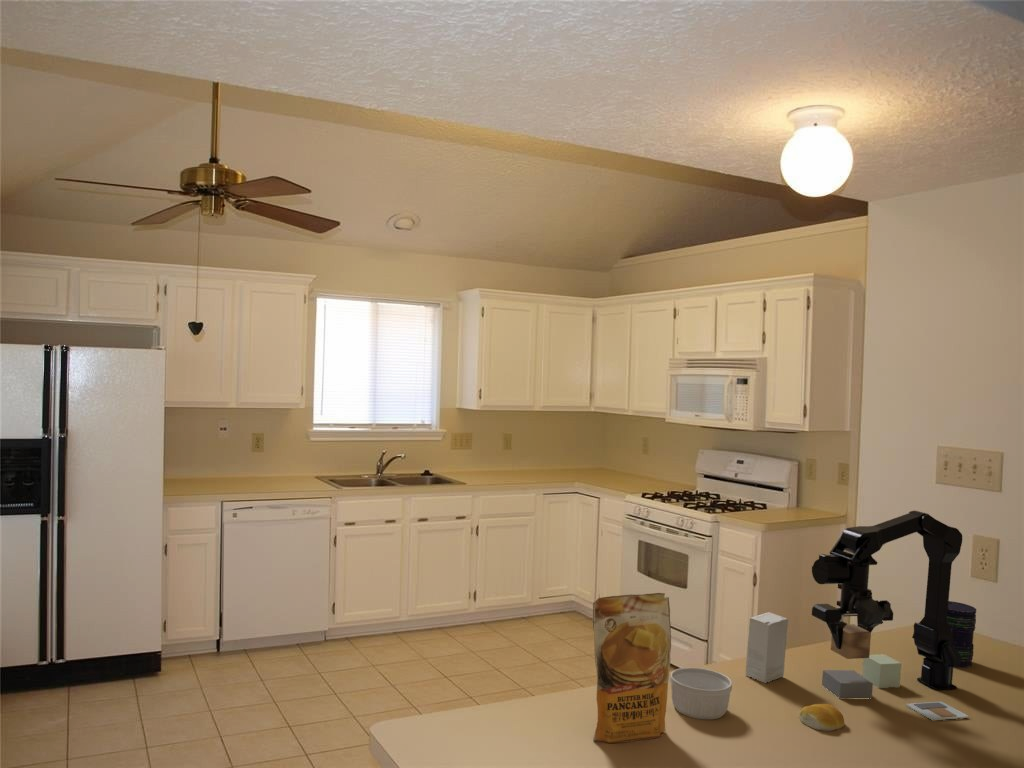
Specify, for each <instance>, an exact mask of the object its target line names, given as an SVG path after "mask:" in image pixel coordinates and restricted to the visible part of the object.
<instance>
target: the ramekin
mask: <svg viewBox="0 0 1024 768" xmlns="http://www.w3.org/2000/svg"><path fill="white" fill-rule="evenodd" d="M669 681H670V684H671V700H672V704H673V706H674V707H675V709H676V710H677V711H678V712H679V713H680V714H682V715H684V716H687V717H689V718H693V719H698V720H716V719H720V718H721V717H723V715H725V714H726V712H727V711H728V708H729V707H728V706H729V704H730V703H729V702H730V696H731V691H732V690H733V682H732V680H731V679H730V678H729V677H728V676H727V675H726V674H723V673H721V672H719V671H715V670H712V669H708V668H701V667H692V666H691V667H680V668H676V669H674V670H672V671H671V672H670V674H669Z"/></svg>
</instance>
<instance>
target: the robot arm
mask: <svg viewBox="0 0 1024 768" xmlns="http://www.w3.org/2000/svg"><path fill="white" fill-rule="evenodd" d="M914 533H915V534H916V533H917V534H919V535H920V536H921V537H922V541H923V549H924V551H925V554H926V556H927V557H928V568H927V569H928V571H927V582H926V593H925V605H924V615H923V618H922V619H921V620H920V621H919V622H914V623H913V634H912V637H911V638H912V639H913V641H914V646H916V650H917V654H918V655H919V656H922V657H923V661H922V664H921V673H920V677H917V678H916V680H917V681H918V682H920V683H921V684H924V685H926V686H928V687H929V688H932V689H933V690H935V691H942V690H956V689H958V687H957V685H956V684H953V676H954V674H953V673H954V668H957V667H956V666H959V665H960V663H961V660H962V657H961V655H960V654H959V653H958V651H957V650H956V649H955V647H954V646H953V633H952V631H951V629H950V627H949V624H948V622H947V614H948V602H949V601H950V600H949V598H950V590H951V589H950V587H951V577H952V576H951V575H952V564H953V562H954V561H955V560H956V558H957V557H958V556H959V554H960V553H961V548H962V545H963V534H962V532H961V531H960V530H959V529H958V528H957V527H953V526H949V525H948V524H945V523H944V522H942V521H939V520H938V519H936V518H934V517H933V516H931V515H930V514H929V513H926V512H924V511H923V512H922V511H919V510H910V511H908V513H906V514H902V515H900V516H897V517H894V518H891V519H889V520H885V521H883V522H881V523H877V524H874V525H867V526H866V525H865V526H863V525H861V526H860V525H858V526H852V527H847V528H845V529H844V530H843V531H842V532H841V535H840V537H839V539H838V540H837V541H836V543H835V544H834V545H833V547H832V548H831V550H830V551H829V554H825V553H820V554H818V559H816V560H815V561H814V562H813V565H812V566H811V574H812V577H813V579H814V581H815V582H816V583H817V584H819V585H837V588H838V589H839V590H840V599H839V600H836V606H838V607H835V606H834V605H831V604H829V603H815V604H813V606H812V608H811V616H812V617H815V618H816V619H819V620H821V621H822V622H824V623H826V625H827V628H828V629H829V631H830V635H831V638H832V637H833V639H834V642H835V645H836V647H837V648H838V649H841V646H842V637H843V628H844V627H845V626H846V625H847V624H848V623H846V622H845V621H844V617H856V621H857V622H856V624H857V626H859V627H861V628H863V629H865V630H867V631H869V632H871V633H872V632H873V630H874V629H875V628H876V627H877V626H879V625H883V623H884V622H887V621H888V622H889V621H893V620H894V611H893V610H892V608H891V606H892V605H891V603H890V602H889V600H885V599H884V600H875V599H873V592H872V589H870V588H869V578H870V577H869V575H870V566H877V565H878V561H877V560H876V559H875V558H874V557H873V555H874V554H875V553H877V552H879V551H880V550H882V549H881V548H882V547H883V546H885V545H886V544H888V543H891V542H894V541H896V540H898V539H901V538H904V537H906V536H910V535H912V534H914Z"/></svg>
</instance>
